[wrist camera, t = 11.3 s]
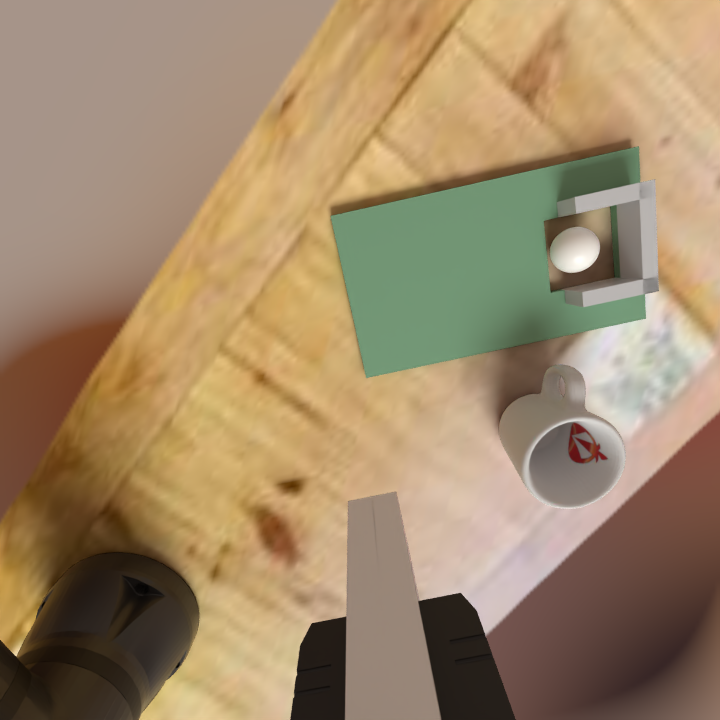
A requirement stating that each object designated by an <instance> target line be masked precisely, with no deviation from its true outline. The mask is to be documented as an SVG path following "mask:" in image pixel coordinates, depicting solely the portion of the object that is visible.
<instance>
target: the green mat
mask: <svg viewBox="0 0 720 720" xmlns="http://www.w3.org/2000/svg"><path fill="white" fill-rule="evenodd" d="M636 183H640V163H639V146H638V147H634V148H629V149H625V150H620V151H616V152H611V153H607V154H603V155H598V156H594V157H589V158H585V159H581V160H576V161H572V162H567V163H563V164H558V165H554V166H550V167H545V168H541V169H536V170H532V171H527V172H523V173H519V174H514V175H510V176H505V177H501V178H496V179H492V180H488V181H483V182H479V183H474V184H470V185H466V186H461V187H457V188H452V189H448V190H443V191H439V192H435V193H430V194H426V195H421V196H417V197H412V198H408V199H404V200H399V201H395V202H390V203H386V204H381V205H377V206H373V207H368V208H364V209H359V210H355V211H351V212H346V213H342V214H337V215H333V216H331V220H332V225H333V229H334V234H335V238H336V243H337V247H338V252H339V256H340V261H341V266H342V270H343V275H344V279H345V284H346V288H347V293H348V297H349V302H350V306H351V311H352V315H353V320H354V324H355V329H356V333H357V338H358V343H359V347H360V352H361V356H362V361H363V365H364V370H365V374H366V378H369V377H373V376H378V375H383V374H387V373H392V372H397V371H402V370H406V369H411V368H416V367H420V366H425V365H430V364H434V363H439V362H444V361H449V360H453V359H458V358H463V357H467V356H472V355H477V354H481V353H486V352H491V351H496V350H500V349H505V348H510V347H514V346H519V345H524V344H528V343H533V342H538V341H542V340H547V339H552V338H557V337H561V336H566V335H571V334H575V333H580V332H585V331H589V330H594V329H599V328H604V327H608V326H613V325H618V324H622V323H627V322H632V321H636V320H641V319H646V311H645V294H643V295H638V296H633V297H629V298H624V299H619V300H615V301H610V302H605V303H601V304H596V305H591V306H587V307H580V306H575V305H570V304H566V300H565V290H561V289H559V290H554V291H550V281H549V271H548V260H547V250H546V240H545V230H544V221H545V220H549V219H554V218H558V210H557V202H559V201H563V200H566V199H570V198H573V197H578V196H582V195H587V194H591V193H595V192H600V191H604V190H609V189H613V188H618V187H622V186H627V185H631V184H636ZM610 209H611V214H612V215H611V216H612V220H611V226H612V243H613V260H614V270H615V271H614V277H615V278H618V277H619V278H620V275H619V274H620V264H619V263H620V260H619V241H618V223H616V222H617V218H616V217H617V205H613V206H610ZM613 211H614V212H615V213H614V212H613ZM614 248H615V249H614ZM616 261H617V262H616ZM618 262H619V263H618ZM615 263H616V264H615ZM618 265H619V266H618ZM616 267H617V268H616ZM618 273H619V274H618ZM615 274H616V275H615Z"/></svg>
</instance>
